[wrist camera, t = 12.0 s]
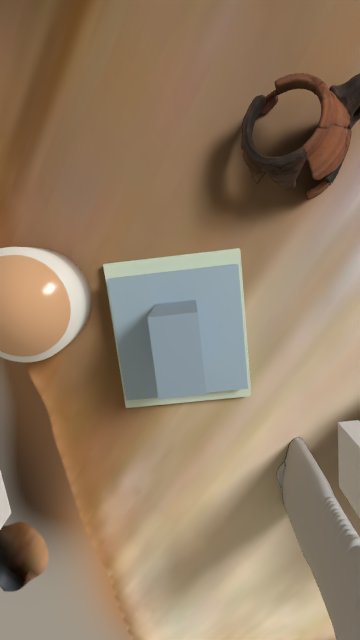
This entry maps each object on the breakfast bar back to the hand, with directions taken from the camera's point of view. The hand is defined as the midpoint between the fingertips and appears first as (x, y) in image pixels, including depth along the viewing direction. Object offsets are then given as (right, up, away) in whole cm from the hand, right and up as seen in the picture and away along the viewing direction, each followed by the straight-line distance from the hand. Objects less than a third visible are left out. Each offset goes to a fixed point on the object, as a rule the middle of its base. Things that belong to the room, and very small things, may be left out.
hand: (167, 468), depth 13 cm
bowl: (-14, +8, +23) cm, 28 cm away
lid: (+1, +4, +22) cm, 23 cm away
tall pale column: (+14, -13, +27) cm, 33 cm away
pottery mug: (+12, +23, +20) cm, 32 cm away
